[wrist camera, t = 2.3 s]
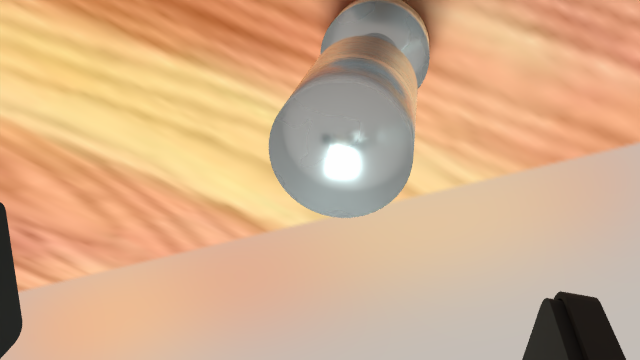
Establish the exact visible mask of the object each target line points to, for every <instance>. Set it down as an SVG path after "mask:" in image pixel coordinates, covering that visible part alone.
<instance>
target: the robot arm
mask: <svg viewBox="0 0 640 360" xmlns="http://www.w3.org/2000/svg"><path fill="white" fill-rule="evenodd" d="M21 329H22V316H21V309H20V303H19V296H18V289H17V282H16V276H15V269H14V262H13V256H12V249H11V243H10V236H9V229H8V223H7V216H6V210H5V207H4V205H3V204H2V203H0V358H1V357H2V356H3V355H4V354H5V353H6V352H7V351H8V350H9V349H10V348H11V346H12V345H13V344H14V343H15V342H16V340H17V339H18V337H19V335H20V332H21ZM522 360H626V358H625V356H624V354H623V352H622V350H621V348H620V345H619V343H618V341H617V338H616V336H615V334H614V332H613V330H612V327H611V325H610V323H609V321H608V319H607V317H606V314H605V312H604V310H603V307H602V305H601V303H600V302H599V300H598V299H597V298H594V297H589V296H584V295H577V294H572V293H566V292H558V293H557V295H556V296H555V298H554V299H549V298H546V299H544V300H543V302H542V304H541V307H540V310H539V312H538V315H537V318H536V321H535V324H534V327H533V330H532V333H531V336H530V339H529V342H528V345H527V347H526V351H525V353H524V356H523V359H522Z"/></svg>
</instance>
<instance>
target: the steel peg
mask: <svg viewBox="0 0 640 360" xmlns="http://www.w3.org/2000/svg"><path fill="white" fill-rule="evenodd" d="M428 65H429V36H428V32H427V29H426V26H425V24H424V22H423V20H422V19H421V17H420V16H419V14H418V13H417V12H416V11H415V10H414V9H413V8H412V7H411V6H410V5H408V4H407V3H405V2H403V1H401V0H356V1H354V2H352V3H351V4H349V5H348V6H347V7H345V8H344V9H343V10H342V11H341V12H340V14H339V15H338V16H337V17H336V18H335V20H334V21H333V22H332V23H331V25H330V26H329V28H328V29H327V31H326V34H325V36H324V39H323V42H322V46H321V55H320V56H319V57H318V59H317V60H316V62H315V63H314V64H313V66H312V67H311V69H310V70H309V71H308V73H307V74H306V76H305V77H304V78H303V80H302V81H301V83H300V84H299V85H298V87H297V88H296V90H295V91H294V92H293V94H292V95H291V97H290V98H289V99H288V101H287V102H286V104H285V105H284V106H283V108H282V109H281V111H280V112H279V114H278V115H277V117H276V119H275V121H274V123H273V126H272V129H271V132H270V138H269V155H270V161H271V165H272V168H273V171H274V173H275V175H276V177H277V179H278V181H279V182H280V184H281V185H282V187H283V188H284V189H285V191H286V192H287V193H288V194H289V195H290V196H291V197H292V198H293V199H295V200H296V201H297V202H298V203H300V204H301V205H303V206H304V207H306V208H308V209H310V210H312V211H314V212H317V213H320V214H322V215H326V216H331V217H338V218H351V217H359V216H363V215H367V214H370V213H372V212H375V211H377V210H379V209H381V208H383V207H384V206H386V205H387V204H389V203H390V202H391V201H392V200H393V199H394V198H395V197H396V196H397V195H398V194H399V193H400V192H401V190H402V189H403V187H404V186H405V184H406V182H407V180H408V178H409V175H410V172H411V168H412V163H413V152H414V138H415V123H416V109H417V95H418V88H419V87H420V85H421V84H422V82H423V80H424V78H425V76H426V73H427V70H428Z"/></svg>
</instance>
